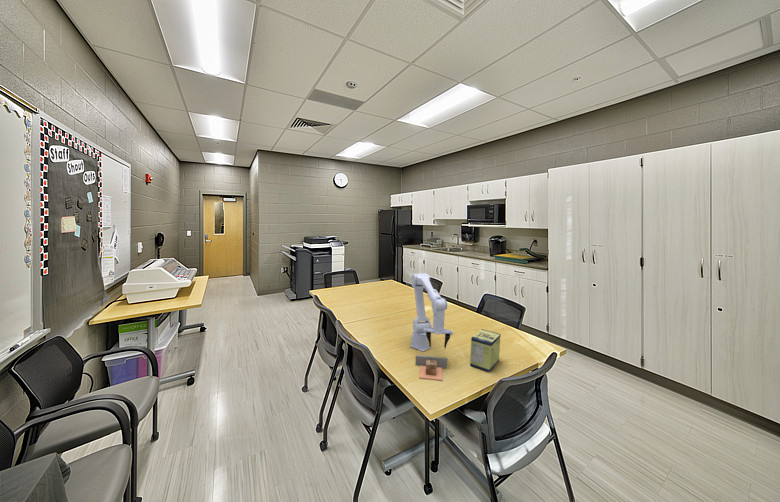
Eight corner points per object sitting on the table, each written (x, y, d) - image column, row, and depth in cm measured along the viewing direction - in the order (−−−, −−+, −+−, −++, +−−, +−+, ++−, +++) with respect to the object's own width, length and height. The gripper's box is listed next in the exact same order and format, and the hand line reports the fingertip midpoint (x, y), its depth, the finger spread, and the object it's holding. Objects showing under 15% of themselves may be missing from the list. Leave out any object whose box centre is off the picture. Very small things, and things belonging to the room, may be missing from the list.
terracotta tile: (419, 378, 134) (419, 377, 134) (420, 366, 145) (420, 365, 145) (442, 380, 133) (442, 379, 133) (441, 368, 144) (441, 367, 144)
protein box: (499, 361, 153) (501, 333, 151) (489, 373, 141) (491, 343, 139) (480, 355, 159) (481, 328, 157) (469, 366, 147) (470, 337, 145)
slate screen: (415, 365, 147) (415, 356, 146) (415, 364, 148) (415, 355, 147) (446, 368, 144) (447, 359, 144) (446, 367, 145) (447, 357, 145)
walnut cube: (425, 374, 137) (426, 364, 136) (425, 369, 142) (426, 359, 141) (436, 375, 136) (436, 365, 136) (435, 370, 141) (436, 360, 141)
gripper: (424, 323, 143) (423, 348, 145) (453, 325, 141) (452, 351, 143) (424, 318, 150) (423, 342, 152) (452, 320, 148) (451, 345, 150)
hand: (437, 346), depth 148 cm, fingers open, 7 cm apart
